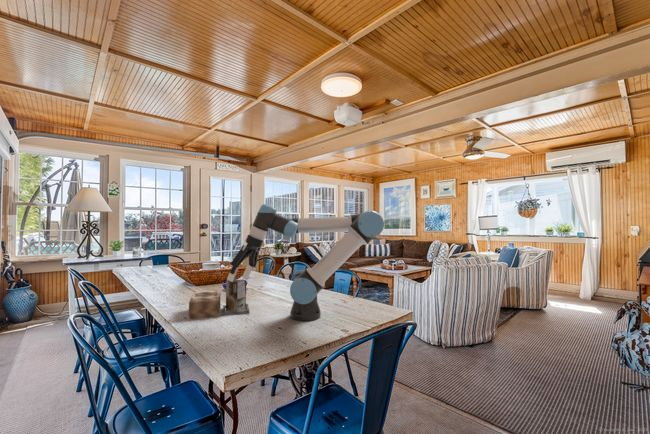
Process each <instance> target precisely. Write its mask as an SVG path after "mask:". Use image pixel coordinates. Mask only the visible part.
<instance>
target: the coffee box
mask: <svg viewBox="0 0 650 434" xmlns="http://www.w3.org/2000/svg"><path fill="white" fill-rule="evenodd" d="M246 304H247V280H246V279H240V278H239V279H237V278H234V280H233V282H231V281H229V280H226V281H225V305H226V309H225V312H229V311H242V310H247V309H246Z"/></svg>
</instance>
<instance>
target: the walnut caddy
mask: <svg viewBox="0 0 650 434" xmlns="http://www.w3.org/2000/svg"><path fill="white" fill-rule="evenodd" d="M225 308H226V304H225V305H223V306H222V316H234V315H235V314H236V315H245V314H246V315H247V314H250V307H249V304H248V303H246V310H242V311H226V309H225ZM220 315H221V292H220V290H215V291H213V290H212V291H210V290H209V291H193V293H192V295H191V297H190V300H189V302H188V320H195V319H196V320H197V319H207V318H209V319H210V318H211V317H212V318H219V317H220ZM212 318H211V319H212Z"/></svg>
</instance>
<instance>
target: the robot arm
mask: <svg viewBox="0 0 650 434" xmlns="http://www.w3.org/2000/svg"><path fill="white" fill-rule="evenodd" d="M384 227H385V221H384V218H383V216H382V215H381V214H380V213H378V212H377V211H375V210H366V211H363V212H361V213H356V214H354V213H353V214H349V215H348V216H334V217H333V216H328V217H301V218H300V217H299V218H296V217H295V218H294V217H293V218H287V217H284V216H282V215H279V214H278V213H277V208H274V207H272V206H270V205H267V204H266V203H265V204H264V203H263V204H261V205H260V208H259V210H258V211H257V214H256V216H255V218H254V220H253V223H252V225H251V227H250V230H249V234H248V235H247V236H246V239H245V243H246V245H244V244H242V246H241V247H240V249H239V251H238V252H237V253H236V255H235V256H234V258H233V259H232V260H231V261H230V265H231V268H230V271H229V274H228V275H227V278H226V281H228V280H229V281H231V282H233V280H234V279H235V277H236V275H237V273H238V270H239V267H240V265H242V263H243V262H244V261H245V260H246V258H248V264H247V265H246V267H245V270H244V272H243V274H242V276H241V277H242V279H243V280H246V281H247V280H249V277H250V274H251V272H252V270H253V268H256V267H257V263H258V259H259V254H260V250H261V247H262V245H263V243H264V240H265V239H266V236H267V234H268V232H269V230H272V231H274V232H277V233H278V234H281V235H283V236H284V237H287V238H291V239H292V238H294V237H295V235H296V234H314V233H315V234H317V233H321V234H322V233H346V234H344V235H343V236H342V237H341V238H340V240H339V241H338V242H336V244H334V246H332V247H331V248H330V249H329V251H327V252H326V253H325V254H324V255H323V256H322V257H321V258H320V259H319V260H318V261H317V262H316V264H314V265H313V266H312V267H307V268H305V269H304V270H303V269H300V270H299V269H298V270H294V272H293V281H292V282H291V284H290V287H289V289H290V290H289V293H290V296H291V298H292V300H293V303H292V306H291V308H290V312H289V313H290V314H289V315H290V316H289V317H290V318H291V319H292V320H295V321H303V322H304V321H305V322H306V321H315V320H317V319H320V318H321V316H322V315H321V308H320V305H319V303H318V294H319V293H320V292H321V291H322V290H323V289H324V288H325V287H326V286H325V284H326V281H327V280H328V279H329V278H330V277H331V276H332V275H333V274H334V273H335V272H336V271H337V270H338V269H339V268H340V267H341V266H342V265H343V264H344V263H345V262H347V260H348V259H350V257H351V256H352V255H353V254H354V253H355V252H357V251H358V250H359V249H360V247H362V246H363V245H365V246H366V245H368V244H369V243H371V241H372V240H374V239H375V238H376V237H378V236H380V234H381V233H382V232H383V231H384Z"/></svg>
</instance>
